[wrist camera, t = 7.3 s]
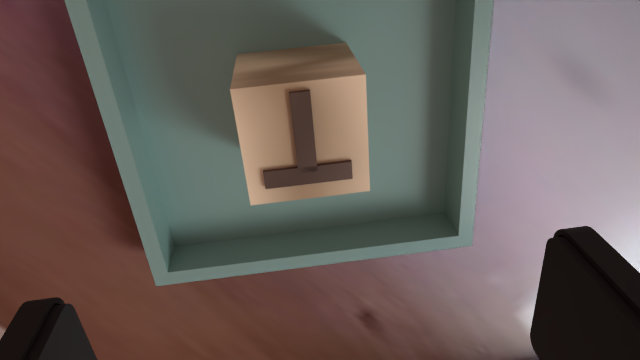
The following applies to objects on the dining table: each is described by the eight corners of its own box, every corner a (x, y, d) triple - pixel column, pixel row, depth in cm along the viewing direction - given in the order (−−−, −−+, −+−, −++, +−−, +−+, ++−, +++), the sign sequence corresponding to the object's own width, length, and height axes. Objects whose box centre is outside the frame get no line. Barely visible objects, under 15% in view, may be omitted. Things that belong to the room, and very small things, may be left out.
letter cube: (346, 42, 20) (366, 75, 16) (351, 141, 22) (370, 193, 18) (236, 54, 20) (229, 90, 16) (253, 153, 22) (250, 207, 18)
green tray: (476, -118, 18) (504, -121, 16) (455, 218, 25) (471, 245, 23) (66, -80, 17) (39, -78, 15) (165, 254, 25) (156, 286, 23)
